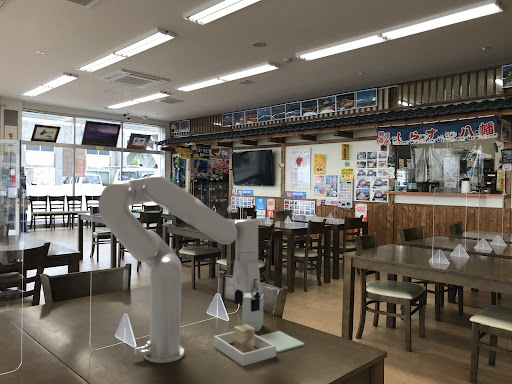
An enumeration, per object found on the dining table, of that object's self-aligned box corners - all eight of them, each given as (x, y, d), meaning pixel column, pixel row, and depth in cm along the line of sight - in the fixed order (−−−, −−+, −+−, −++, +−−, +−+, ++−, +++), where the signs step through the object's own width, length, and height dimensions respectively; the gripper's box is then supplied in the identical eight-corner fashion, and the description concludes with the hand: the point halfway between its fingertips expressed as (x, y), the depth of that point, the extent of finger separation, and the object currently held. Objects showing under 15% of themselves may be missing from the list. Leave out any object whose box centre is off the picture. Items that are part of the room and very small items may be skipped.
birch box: (241, 355, 130) (242, 331, 129) (233, 350, 134) (234, 326, 134) (254, 352, 133) (255, 328, 133) (246, 346, 137) (247, 323, 137)
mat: (277, 352, 133) (277, 350, 133) (253, 338, 144) (253, 337, 144) (304, 345, 140) (304, 343, 140) (279, 332, 151) (279, 330, 151)
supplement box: (259, 331, 152) (260, 298, 151) (241, 329, 153) (241, 297, 153) (263, 325, 159) (264, 293, 159) (245, 323, 160) (246, 292, 160)
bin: (242, 366, 122) (242, 354, 122) (213, 346, 137) (213, 335, 137) (275, 356, 130) (275, 345, 129) (244, 338, 144) (245, 328, 144)
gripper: (223, 253, 137) (223, 302, 138) (252, 261, 123) (252, 316, 124) (241, 251, 142) (241, 299, 142) (271, 259, 128) (271, 311, 128)
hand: (246, 307), depth 133 cm, fingers open, 9 cm apart
